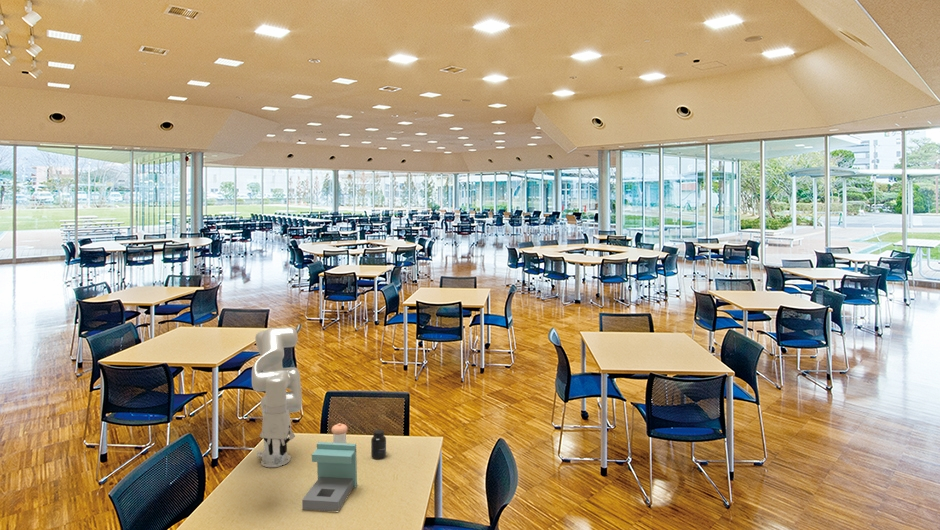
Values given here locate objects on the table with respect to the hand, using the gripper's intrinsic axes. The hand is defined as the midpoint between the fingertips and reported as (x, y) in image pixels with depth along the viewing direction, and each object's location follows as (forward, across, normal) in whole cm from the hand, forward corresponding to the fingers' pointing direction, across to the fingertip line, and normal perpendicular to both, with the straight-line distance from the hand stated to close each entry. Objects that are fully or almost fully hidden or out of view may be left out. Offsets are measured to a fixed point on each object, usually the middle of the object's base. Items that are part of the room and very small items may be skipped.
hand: (277, 453), depth 209 cm
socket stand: (+19, +19, +4) cm, 27 cm away
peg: (+3, 0, 0) cm, 3 cm away
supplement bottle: (+19, +29, +41) cm, 54 cm away
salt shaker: (+19, +14, +31) cm, 39 cm away
